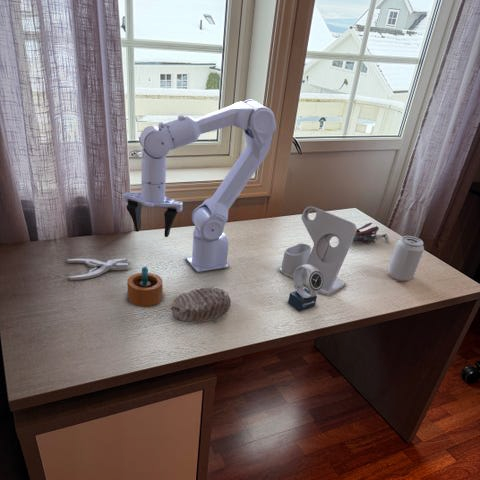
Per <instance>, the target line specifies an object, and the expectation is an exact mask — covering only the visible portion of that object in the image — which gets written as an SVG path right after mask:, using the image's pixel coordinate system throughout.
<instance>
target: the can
mask: <svg viewBox="0 0 480 480" xmlns="http://www.w3.org/2000/svg"><path fill="white" fill-rule="evenodd" d="M424 245H425V244H424V241H423V240H422V239H421V238H418V237H416V236H414V235H403V236H401V238H400V239H399V240H397V242H396V244H395V247H394V251H393V254H392V256H391V259H390V262H389V266H388V268H387V274H388V275H389V276H390V277H391V279H394V280H395V281H397V282H408V281H411V280H413V278H414V276H415V275H416V271H417V268H418V266H419V263H420V261H421V258H422V256H423V252H424V251H425V246H424Z"/></svg>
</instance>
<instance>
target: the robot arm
mask: <svg viewBox="0 0 480 480" xmlns="http://www.w3.org/2000/svg"><path fill="white" fill-rule="evenodd" d="M157 125H158V126H155V125H147V126H146V127H144V129H142V130H141V133H140V135H139V137H138V141H139V144H140V147H142V149H141V173H140V174H141V177H140V178H141V181H140V183H141V185H140V186H141V192H128V191H125V192H124V193H123V203H127V204H126V206H125V207H126V210H127V212H128V213H129V215H130V217H131V219H132V222H133V226H134V231H135V232H136V233H137V232H140V230H141V229H142V208H143V205H144V206H145V207H149V208H152V207H154V208H161V209H165V212H164V213H163V217H164V237H165V238H168V237H169V236H170V233H171V228H172V224H173V223H174V220H175V218H176V216H177V214H178V213H182V211H183V205H184V202H183V201H179V200H175V199H173V198H169V197H167V196H166V183H167V181H166V178H167V177H166V176H167V155H168V154H169V152H170V151H173V150H175V149H178V148H181V147H184V146H187V145H190V144H193V143H196V142H197V141H198V140H199V137H200V136H201V135H203V134H206V133H210V132H213V131H217V130H220V129H221V130H222V129H224V128H228V127H235V128H239V129H242V131H244V136H245V142H246V146H245V148H244V149H243V150H242V152H241V153H240V155H239V156H238V158H237V159H236V161H235V162H234V163H233V165H232V167H231V168H230V169H229V171H228V173H227V174H226V176H225V177H224V179H223V180H222V181H221V183H220V185H219V186H218V187H217V189H216V191H215V192H214V193H213V195H212V196H211V197H208V198H206V199H204V201H203V202H202V203H201V204H200V205H198V206H197V207H195V208H194V210H192V214H191V221H192V223H193V224H194V225H195V226H194V230H193V233H192V234H193V235H192V236H193V237H192V250H191V251H192V252H191V256H189V257H186V261H187V262H188V263H189V265H191V267H192V268H193V269H194V270H195V272H196V273H203V272H208V271H214V270H220V269H226V268H228V264H227V263H228V254H229V239H228V237H227V234H226V233H224V230H225V229H224V228H225V226H226V223H227V222H228V220H229V210H230V208H231V207H232V206H233V204H234V203H235V201H236V200H237V198H238V197H239V195H240V194H242V193H241V192H242V191H243V190H244V189H245V188H246V186H247V184H248V183H249V181H251V178H252V177H253V176H254V174H255V173H256V171H257V170H258V169H259V167H260V165H261V164H262V163H263V161H264V160H265V159H266V158H267V156H268V154H269V152H270V150H271V145H272V139H273V136H274V133H275V131H277V128H278V127H277V121H276V116H275V113H274V111H273V110H272V109H271V108H269V107H267V106H264V105H263V104H260V103H259V102H258V101H256V100H255V99H246V100H244V101H237V102H234V103H233V104H231V105H229V106H226V107H223V108H220V109H218V110H216V111H214V112H211V113H208V114H206V115H202V116H200V117H198V118H193V117H191V116H189V115H186V116H185V115H184V114H180V115H177V119H174V120H171V121H167V122H165V123H163V122H158V124H157Z"/></svg>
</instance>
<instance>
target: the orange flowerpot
mask: <svg viewBox="0 0 480 480" xmlns="http://www.w3.org/2000/svg"><path fill="white" fill-rule="evenodd" d="M141 281H142V272H137V273H134V274H132V275H130V276H129V277H128V278H127V281H126V282H127V283H126V284H127V285H126V286H127V299H128V301H129V302H130V303H131V304H132V305H134V306H138V307H152V306H156V305H158V304H159V303H161V301H162V300H163V287H164V286H163V278H161V276H159V275H158V274H155V273H152V272H148V281H149V282H150V283H151V287H148V288H143V287H140V282H141Z"/></svg>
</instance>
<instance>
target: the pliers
mask: <svg viewBox="0 0 480 480" xmlns="http://www.w3.org/2000/svg"><path fill="white" fill-rule="evenodd" d="M66 260H67V264H86V265H87V266H89V267H91V269H90V270H89V271H88V272H87V273H83V274H77V275H69V276H68V279H69V281H79V280H87V279H92V278H95V277H98V276H100V275H102V274H104V273H107V272H108V271H126V270H127V271H128V270H129V263H128V258H126V257H124V258H112V259H107V262H106V261H101V260H99V259H93V258H84V257H83V258H69V259H66ZM98 267H100V268H98Z"/></svg>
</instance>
